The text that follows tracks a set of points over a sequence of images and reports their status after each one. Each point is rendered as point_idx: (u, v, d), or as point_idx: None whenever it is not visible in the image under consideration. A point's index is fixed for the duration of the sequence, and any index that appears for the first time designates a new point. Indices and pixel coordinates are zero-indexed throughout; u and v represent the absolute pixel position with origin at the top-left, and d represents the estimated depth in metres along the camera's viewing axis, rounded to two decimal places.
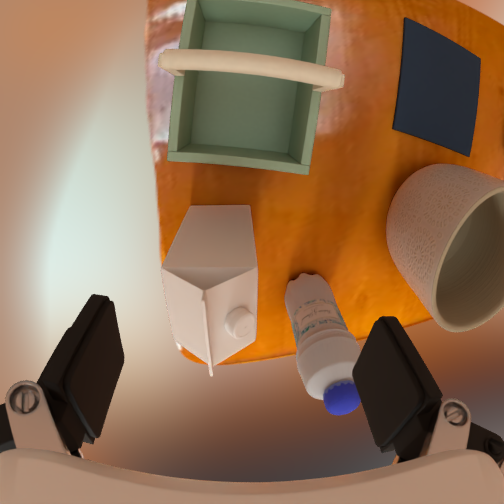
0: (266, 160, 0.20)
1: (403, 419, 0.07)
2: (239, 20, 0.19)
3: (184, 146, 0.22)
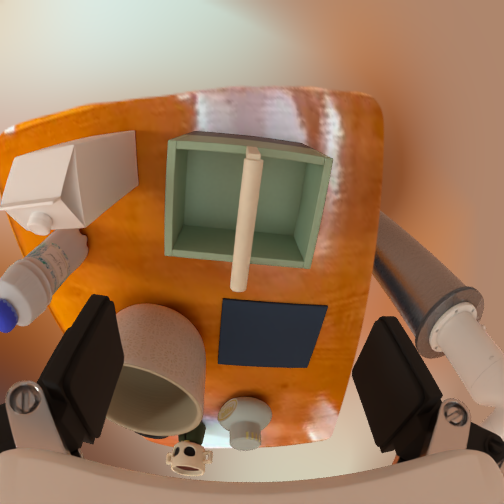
0: (171, 223, 0.24)
1: (403, 419, 0.07)
2: (305, 186, 0.28)
3: None
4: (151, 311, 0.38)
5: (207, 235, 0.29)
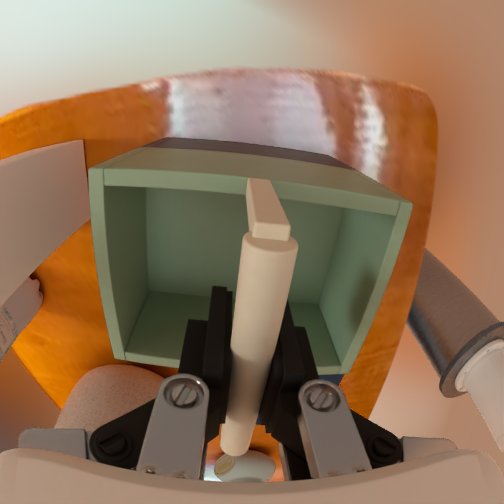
0: (116, 316, 0.13)
1: None
2: (344, 235, 0.17)
3: None
4: (123, 381, 0.26)
5: (184, 315, 0.17)
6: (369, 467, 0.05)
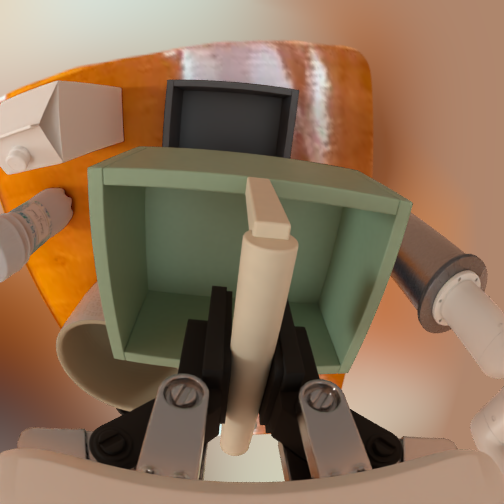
0: (115, 315, 0.13)
1: None
2: (343, 235, 0.17)
3: None
4: None
5: (183, 314, 0.17)
6: (369, 467, 0.05)
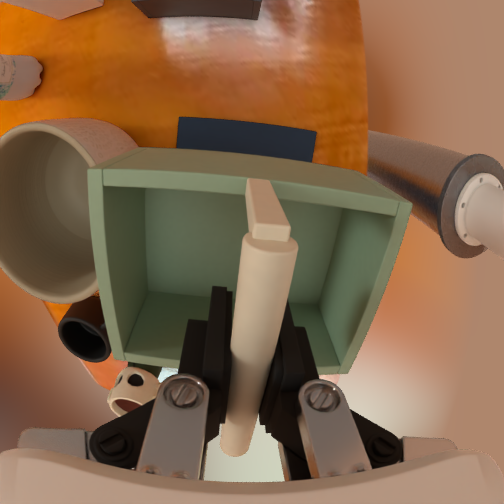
0: (115, 316, 0.13)
1: None
2: (343, 235, 0.17)
3: None
4: None
5: (183, 315, 0.17)
6: (369, 467, 0.05)
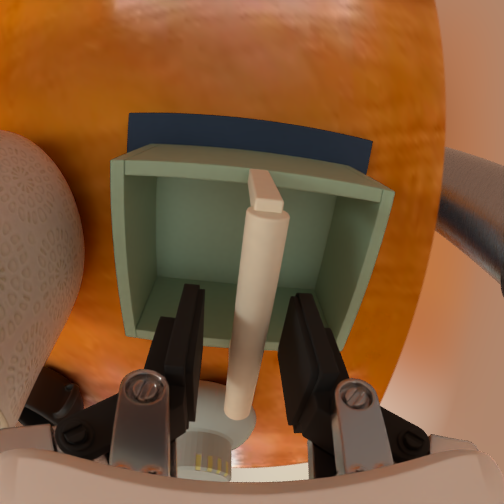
0: (129, 294, 0.14)
1: (304, 396, 0.08)
2: (336, 224, 0.18)
3: None
4: None
5: None
6: None
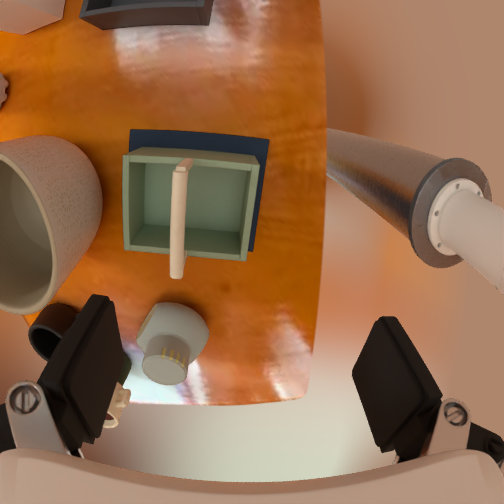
0: (128, 222, 0.28)
1: (403, 419, 0.07)
2: (245, 189, 0.32)
3: None
4: (42, 135, 0.24)
5: (161, 232, 0.33)
6: None
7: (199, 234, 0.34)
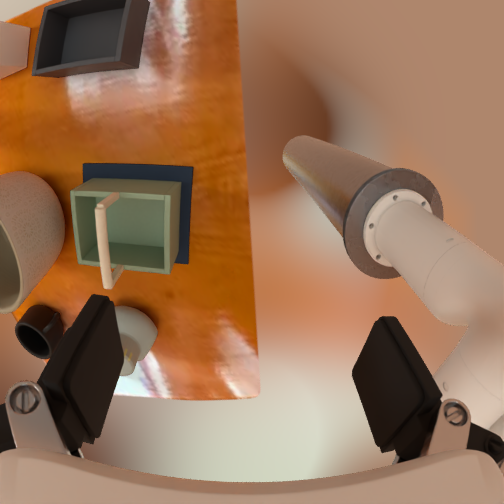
0: (79, 243, 0.33)
1: (403, 419, 0.07)
2: None
3: None
4: (15, 172, 0.30)
5: (109, 249, 0.37)
6: None
7: (138, 250, 0.38)
